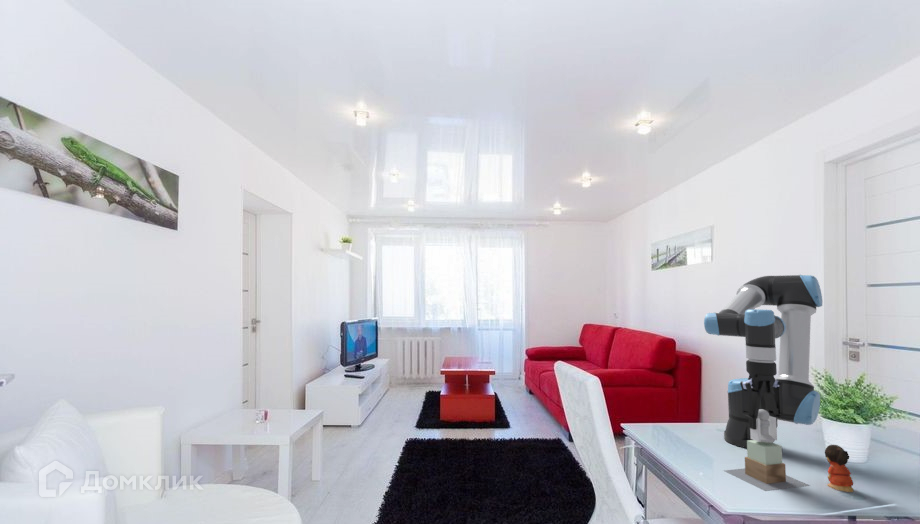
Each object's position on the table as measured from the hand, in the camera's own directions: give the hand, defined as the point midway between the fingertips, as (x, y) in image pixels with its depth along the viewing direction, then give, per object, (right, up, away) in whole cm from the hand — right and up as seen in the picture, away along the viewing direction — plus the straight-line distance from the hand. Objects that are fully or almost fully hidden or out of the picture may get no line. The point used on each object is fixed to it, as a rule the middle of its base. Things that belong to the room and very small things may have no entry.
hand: (763, 439), depth 129 cm
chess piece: (0, -1, 0) cm, 0 cm away
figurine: (+17, -12, -7) cm, 22 cm away
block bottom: (0, -11, -1) cm, 11 cm away
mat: (0, -12, -1) cm, 11 cm away
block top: (0, -6, 0) cm, 6 cm away
